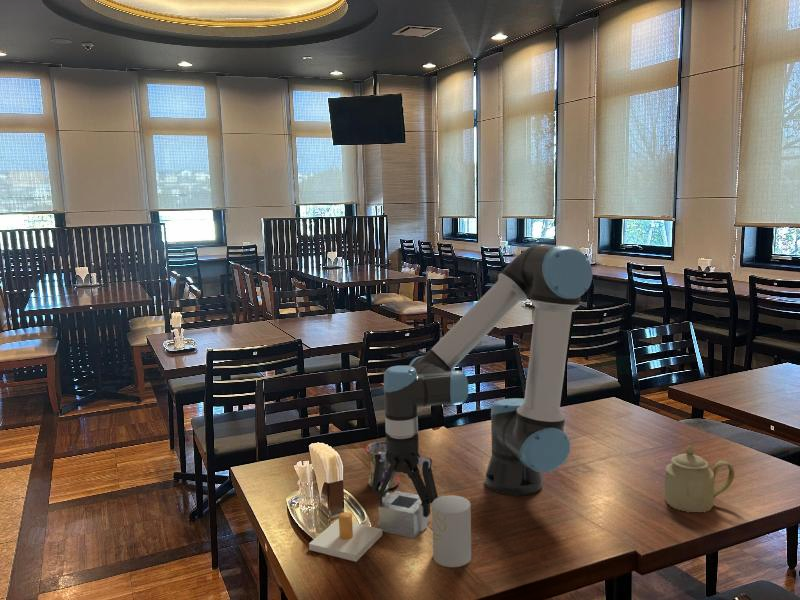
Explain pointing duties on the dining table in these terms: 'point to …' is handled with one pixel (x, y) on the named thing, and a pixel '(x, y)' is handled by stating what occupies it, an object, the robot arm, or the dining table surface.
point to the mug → (372, 451)
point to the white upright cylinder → (451, 530)
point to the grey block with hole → (401, 514)
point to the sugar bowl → (693, 482)
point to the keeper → (346, 538)
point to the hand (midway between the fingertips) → (405, 524)
